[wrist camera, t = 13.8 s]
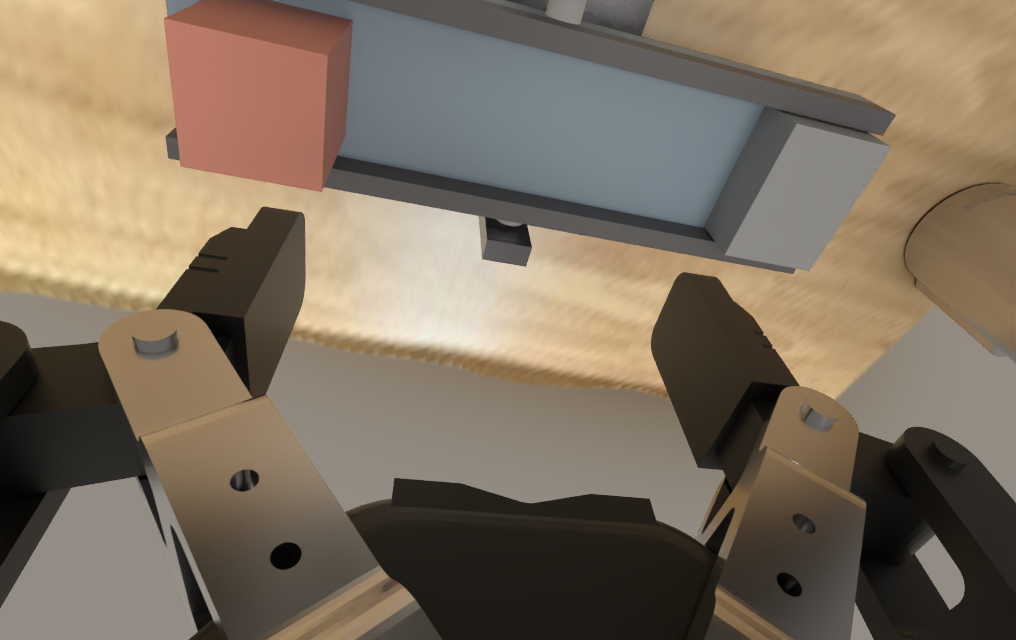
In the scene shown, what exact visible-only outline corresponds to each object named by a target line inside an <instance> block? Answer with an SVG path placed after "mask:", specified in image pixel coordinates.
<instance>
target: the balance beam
mask: <svg viewBox="0 0 1016 640" xmlns="http://www.w3.org/2000/svg"><path fill="white" fill-rule="evenodd" d="M199 1H201V0H166V5H167V15H168V16H170V15H172V14H174V13H176V12H178V11H180V10H183V9H185V8H187V7H189V6H191V5H193V4H195V3H197V2H199ZM271 1H276V2H280V3H284V4H288V5H292V6H296V7H301V8H305V9H309V10H313V11H317V12H321V13H325V14H330V15H334V16H338V17H342V18H346V19H350V20H353V27H352V42H351V57H350V72H349V88H348V103H347V118H346V133H345V138H344V140H343V143H342V145H341V147H340V150H339V152H338V154H337V157H336V159H335V161H334V164H333V166H332V169H331V171H330V173H329V176H328V178H327V180H326V183H325V185H324V187H327V188H332V189H337V190H343V191H348V192H353V193H359V194H364V195H370V196H375V197H380V198H386V199H391V200H397V201H402V202H407V203H413V204H418V205H424V206H429V207H434V208H440V209H445V210H451V211H456V212H461V213H467V214H472V215H478V216H483V217H488V218H494V219H496V220H497V221H499V222H500V223H502V224H505V225H509V226H520V225H521V224H526V225H531V226H537V227H542V228H548V229H553V230H558V231H564V232H569V233H575V234H580V235H585V236H591V237H596V238H602V239H607V240H612V241H618V242H623V243H629V244H634V245H639V246H645V247H650V248H656V249H661V250H666V251H672V252H677V253H682V254H688V255H693V256H699V257H704V258H709V259H715V260H720V261H726V262H731V263H736V264H742V265H747V266H753V267H758V268H763V269H769V270H774V271H780V272H785V273H790V274H793V273H794V271H795V270H796V269H802V270H807V271H810V269H811V268H812V266H813V265H814V263H815V262H816V260H817V259H818V257H819V256H820V254H821V253H822V251H823V250H824V248H825V247H826V245H827V244H828V242H829V241H830V239H831V238H832V236H833V235H834V233H835V232H836V230H837V229H838V227H839V226H840V224H841V223H842V221H843V220H844V218H845V217H846V215H847V214H848V212H849V211H850V209H851V208H852V206H853V205H854V203H855V202H856V200H857V199H858V197H859V196H860V194H861V193H862V191H863V190H864V188H865V187H866V185H867V184H868V182H869V181H870V179H871V178H872V176H873V175H874V173H875V172H876V170H877V169H878V167H879V166H880V164H881V163H882V161H883V160H884V158H885V157H886V155H887V154H888V152H889V151H890V149H891V148H892V147H890V146H889V145H887V144H886V143H884V142H882V141H881V140H879V139H877V138H876V137H874V136H872V135H871V134H869V133H868V132H870V133H874V134H878V135H882V136H883V134H884V133H885V131H886V130H887V128H888V126H889V125H890V123H891V122H892V120H893V119H894V117H895V116H896V115H895V114H893V113H891V112H890V111H888V110H886V109H884V108H882V107H880V106H878V105H876V104H875V103H873V102H871V101H869V100H867V99H865V98H863V97H861V96H860V95H857V94H853V93H850V92H846V91H842V90H838V89H835V88H831V87H827V86H823V85H820V84H816V83H812V82H808V81H805V80H801V79H797V78H794V77H790V76H786V75H782V74H779V73H775V72H771V71H767V70H764V69H760V68H756V67H752V66H749V65H745V64H741V63H738V62H734V61H730V60H726V59H723V58H719V57H715V56H711V55H708V54H704V53H700V52H696V51H693V50H689V49H685V48H682V47H678V46H674V45H670V44H667V43H663V42H659V41H655V40H652V39H648V38H644V37H640V36H637V35H633V34H629V33H626V32H622V31H618V30H614V29H611V28H607V27H603V26H599V25H596V24H592V23H588V22H584V21H581V19H582V16H583V13H584V9H585V6H586V2H587V0H549V1H548V5H547V9H546V11H543V10H540V9H536V8H532V7H529V6H525V5H521V4H517V3H514V2H510V1H506V0H271ZM166 143H167V151H168V158H170V159H175V160H180V155H179V146H178V138H177V129H176V128H175V129H173V130H172V131H171V132H170V133H169V134H168V135H167V136H166Z"/></svg>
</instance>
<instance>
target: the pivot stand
mask: <svg viewBox="0 0 1016 640" xmlns="http://www.w3.org/2000/svg"><path fill="white" fill-rule="evenodd" d="M506 1H510V2H514V3H517V4H521V5H525V6H529V7H532V8H536V9H540V10H543V11H546V9H547V5H548V1H549V0H506ZM653 1H654V0H587V2H586V6H585V9H584V13H583V16H582V19H581V21H584V22H588V23H592V24H596V25H599V26H603V27H607V28H611V29H614V30H618V31H622V32H626V33H629V34H633V35H637V36H640V37H641V35H642V32H643V29H644V26H645V24H646V21H647V18H648V15H649V12H650V9H651V7H652V4H653ZM479 224H480V237H481V250H482V259H484V260H490V261H496V262H502V263H508V264H514V265H520V266H526V265H527V262H528V258H529V255H530V252H531V249H532V246H531V241H530V237H529V232H528V227H527V225H526V224H521V225H520V226H509V225H505V224H502V223H500V222H499V221H497V220H496V219H494V218H488V217H483V216H479Z"/></svg>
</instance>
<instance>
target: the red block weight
mask: <svg viewBox="0 0 1016 640" xmlns="http://www.w3.org/2000/svg"><path fill="white" fill-rule="evenodd" d="M164 24H165V32H166V41H167V50H168V59H169V67H170V76H171V85H172V94H173V103H174V111H175V120H176V129H177V138H178V146H179V155H180V164H181V167H186V168H192V169H197V170H203V171H208V172H214V173H220V174H225V175H231V176H236V177H242V178H248V179H253V180H259V181H264V182H270V183H276V184H281V185H287V186H292V187H298V188H304V189H309V190H315V191H320V192H322V190H323V187H324V185H325V183H326V180H327V178H328V176H329V173H330V171H331V169H332V166H333V164H334V161H335V159H336V157H337V154H338V152H339V150H340V147H341V145H342V143H343V140H344V138H345V133H346V118H347V103H348V88H349V72H350V57H351V42H352V27H353V20H350V19H346V18H342V17H338V16H334V15H330V14H325V13H321V12H317V11H313V10H309V9H305V8H301V7H296V6H292V5H288V4H284V3H280V2H276V1H271V0H201V1H199V2H197V3H195V4H193V5H191V6H189V7H187V8H185V9H183V10H180V11H178V12H176V13H174V14H172V15H170V16H168V17H166V18H164Z"/></svg>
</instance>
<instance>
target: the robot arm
mask: <svg viewBox="0 0 1016 640" xmlns="http://www.w3.org/2000/svg"><path fill="white" fill-rule="evenodd" d="M905 264H906V266H907V268H908V270H909V271H910V272H911V273H912V274H913V275H914V276H915V277H916V285H915V286H916V288H917V289H919V290H920V291H921V292H922V293H923V294H924V295H925V296H927V297H928V298H929V299H930V300H931V301H932V302H933V303H934V304H936V305H937V306H938V307H939V308H940V309H941V310H942V311H944V312H945V313H946V314H947V315H948V316H949V317H950V318H952V319H953V320H954V321H955V322H956V323H957V324H958V325H959V326H961V327H962V328H963V329H964V330H965V331H966V332H968V334H970V335H971V336H972V337H973V338H974V339H975V340H976V341H978V342H979V343H980V344H981V345H982V346H983V347H984V348H985V349H987V350H988V351H989V352H990V353H991V354H993V355H995V356H998V357H1004V356H1007V357H1009V358H1010V359H1011V360H1012V361H1013V362H1014V363H1016V190H1015V189H1013V188H1011V187H1010V186H1007V185H1003V184H984V185H978V186H974V187H971V188H968V189H966V190H963V191H961V192H959V193H957V194H955V195H953V196H951V197H949V198H948V199H946V200H945V201H943V202H942V203H940V204H939V205H937V206H936V207H935V208H934V209H933V210H932V211H930V212H929V213H928V214H927V215H926V216H925V217H924V218H923V219H922V221H921V222H920V223H919V224H918V225H917V227H916V228H915V230H914V231H913V233H912V234H911V236H910V238H909V241H908V243H907V246H906V250H905ZM304 291H305V218H304V214H303V213H302V212H295V211H289V210H282V209H276V208H269V207H262V208H261V209H260V210H259V212H258V213H257V215H256V216H255V218H254V219H253V221H252V222H251V224H250V225H249V227H248V228H247V229H242V228H235V227H230V228H228V229H227V230H225V231H223V232H221V233H219V234H217V235H215V236H213V237H212V238H210V239H209V240H208V242H207V243H206V244H205V246H204V247H203V248H202V249H201V251H200V252H199V255H198V257H197V256H196V257H195V259H194V260H193V261H192V263H191V264H190V265H189V269H186V271H185V272H184V273H183V275H182V276H181V277H180V278H179V280H178V281H177V282H176V284H175V285H174V286H173V288H172V289H171V290H170V292H169V293H168V294H167V296H166V297H165V298H164V300H163V301H162V302H161V303H160V305H159V306H158V307H157V309H156V310H149V311H143V312H139V313H135V314H132V315H129V316H127V317H124V318H122V319H120V320H118V321H116V322H115V323H113V324H112V325H110V326H109V327H108V328H107V329H106V330H105V331H104V332H103V334H102V335H101V337H100V339H99V342H96V343H88V344H80V345H69V346H68V345H67V346H57V347H56V346H55V347H43V348H33V349H32V348H31V347H30V345H29V342H28V339H27V337H26V334H25V333H24V332H23V331H22V330H21V329H20V328H18V327H17V326H15V325H12V324H10V323H7V322H2V321H0V608H1V606H2V604H3V602H4V601H5V599H6V597H7V596H8V594H9V592H10V591H11V589H12V587H13V586H14V584H15V582H16V580H17V579H18V577H19V575H20V574H21V572H22V570H23V569H24V567H25V565H26V564H27V562H28V560H29V558H30V557H31V555H32V553H33V552H34V550H35V548H36V547H37V545H38V543H39V541H40V540H41V538H42V536H43V535H44V533H45V531H46V529H47V528H48V526H49V525H50V523H51V521H52V519H53V518H54V516H55V514H56V513H57V511H58V509H59V507H60V506H61V504H62V502H63V501H64V499H65V497H66V496H67V494H68V492H69V490H70V489H71V488H72V487H77V486H84V485H89V484H95V483H101V482H107V481H113V480H118V479H125V478H130V477H135V478H136V480H137V483H138V485H139V488H140V490H141V493H142V495H143V497H144V500H145V503H146V505H147V508H148V510H149V513H150V515H151V518H152V520H153V523H154V525H155V528H156V530H157V533H158V535H159V538H160V540H161V543H162V545H163V548H164V550H165V553H166V555H167V558H168V560H169V563H170V566H171V568H172V571H173V574H174V577H175V580H176V583H177V586H178V589H179V592H180V595H181V598H182V600H183V603H184V606H185V609H186V612H187V614H188V617H189V619H190V622H191V625H192V627H193V630H194V632H195V635H194V636H192V637H191V638H190V639H189V640H850V638H851V630H852V622H853V614H854V606H855V603H856V605H857V607H858V609H859V611H860V613H861V615H862V617H863V619H864V621H865V623H866V625H867V627H868V629H869V631H870V633H871V635H872V637H873V639H874V640H1016V503H1015V501H1014V500H1013V499H1012V498H1011V497H1010V496H1009V494H1008V493H1007V492H1006V491H1005V490H1004V489H1003V487H1002V486H1001V485H1000V484H999V483H998V482H997V480H996V479H995V478H994V477H993V476H992V474H991V473H990V472H989V471H988V470H987V469H986V468H985V466H984V465H983V464H982V463H981V462H980V461H979V460H978V459H977V457H976V456H974V455H973V454H972V453H971V452H970V451H969V450H968V449H966V448H965V447H964V446H962V445H961V444H959V443H958V442H956V441H955V440H953V439H951V438H950V437H948V436H946V435H944V434H942V433H939V432H937V431H934V430H931V429H928V428H923V427H911V428H908V429H907V430H906V431H905V432H904V433H903V434H902V435H901V436H900V437H899V438H898V439H897V441H896V442H895V443H894V444H893V443H889V442H887V441H884V440H881V439H878V438H875V437H872V436H869V435H867V434H863V433H861V432H859V429H858V425H857V423H856V421H855V420H854V418H853V417H852V415H851V414H850V413H849V412H848V411H847V410H846V409H845V408H844V407H843V406H842V405H840V404H839V403H838V402H836V401H835V400H833V399H832V398H830V397H829V396H827V395H825V394H823V393H821V392H819V391H816V390H813V389H810V388H807V387H801V386H800V385H799V384H798V383H797V381H796V380H795V378H794V377H793V375H792V374H791V372H790V371H789V369H788V368H787V366H786V365H785V363H784V362H783V361H782V359H781V358H780V356H779V355H778V353H777V352H776V350H775V349H772V344H771V343H770V341H769V340H768V338H767V337H766V336H763V331H762V330H761V328H760V327H759V325H758V324H757V322H756V321H755V319H754V318H753V317H752V316H751V315H750V314H749V313H748V312H746V311H745V310H744V309H743V308H742V307H740V306H739V305H738V304H737V303H736V302H734V301H733V300H732V298H731V297H730V295H729V294H728V292H727V291H726V289H725V288H724V286H723V285H722V283H721V282H720V280H719V279H718V278H716V277H712V276H705V275H699V274H692V273H686V272H684V273H681V274H680V275H679V276H678V277H677V278H676V280H675V282H674V284H673V286H672V288H671V291H670V293H669V295H668V297H667V300H666V302H665V304H664V306H663V308H662V311H661V313H660V315H659V317H658V320H657V322H656V324H655V326H654V329H653V333H652V338H651V350H652V354H653V357H654V360H655V362H656V365H657V367H658V370H659V372H660V374H661V377H662V379H663V382H664V384H665V387H666V389H667V392H668V394H669V397H670V399H671V402H672V404H673V406H674V409H675V412H676V414H677V417H678V419H679V421H680V424H681V426H682V429H683V431H684V434H685V436H686V439H687V441H688V444H689V446H690V448H691V451H692V454H693V456H694V459H695V461H696V464H697V466H698V468H707V469H718V470H723V471H724V473H725V477H724V478H723V480H722V481H721V483H720V484H719V486H718V487H717V489H716V492H715V494H714V496H713V498H712V501H711V503H710V505H709V508H708V510H707V512H706V514H705V516H704V519H703V521H702V523H701V525H700V528H699V530H698V532H697V535H696V537H695V539H694V538H692V537H691V536H689V535H687V534H686V533H684V532H682V531H680V530H678V529H676V528H674V527H671V526H669V525H667V524H665V523H662V522H659V521H656V519H655V515H654V512H653V509H652V505H651V502H650V499H644V498H633V497H621V496H609V495H596V494H588V495H582V496H575V497H569V498H563V499H558V500H551V501H545V502H539V503H524V502H519V501H516V500H513V499H510V498H507V497H503V496H500V495H497V494H494V493H490V492H487V491H484V490H481V489H477V488H474V487H471V486H467V485H464V484H460V483H449V482H436V481H424V480H411V479H400V478H395V479H394V486H393V494H392V499H386V500H380V501H376V502H372V503H369V504H365V505H361V506H359V507H356V508H354V509H351V510H349V511H346V512H345V511H344V510H343V508H342V507H341V505H340V504H339V502H338V501H337V499H336V498H335V496H334V495H333V493H332V491H331V490H330V489H329V487H328V485H327V484H326V482H325V481H324V479H323V478H322V476H321V475H320V473H319V472H318V470H317V469H316V467H315V466H314V464H313V463H312V461H311V459H310V458H309V456H308V455H307V453H306V452H305V450H304V449H303V447H302V446H301V444H300V443H299V441H298V440H297V438H296V436H295V435H294V433H293V432H292V430H291V429H290V427H289V426H288V424H287V423H286V421H285V420H284V418H283V417H282V415H281V413H280V412H279V411H278V409H277V407H276V406H275V405H274V403H273V402H272V400H271V399H270V398H269V397H268V396H267V395H266V392H267V390H268V387H269V385H270V383H271V380H272V377H273V375H274V373H275V370H276V368H277V365H278V363H279V360H280V358H281V356H282V353H283V351H284V348H285V346H286V343H287V341H288V338H289V336H290V334H291V331H292V329H293V326H294V324H295V321H296V319H297V316H298V314H299V312H300V309H301V306H302V302H303V297H304ZM934 535H936V536H937V537H938V539H939V540H940V542H941V543H942V544H943V546H944V547H945V549H946V550H947V552H948V553H949V555H950V556H951V558H952V559H953V561H954V562H955V564H956V565H957V567H958V568H959V570H960V572H961V574H962V576H963V579H964V584H965V592H964V596H963V599H962V600H961V602H960V603H959V604H958V605H956V606H955V607H954V608H953V609H951V610H949V608H948V607H947V605H946V603H945V602H944V600H943V599H942V597H941V595H940V594H939V592H938V591H937V589H936V587H935V586H934V584H933V583H932V581H931V580H930V578H929V576H928V575H927V573H926V571H925V570H924V568H923V567H922V565H921V563H920V562H919V560H918V559H917V557H916V555H915V554H914V553H915V552H916V551H918V550H919V549H920V548H921V547H922V546H923V545H924V544H925V543H927V542H928V541H929V540H930V539H931V538H932V537H933V536H934Z"/></svg>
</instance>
